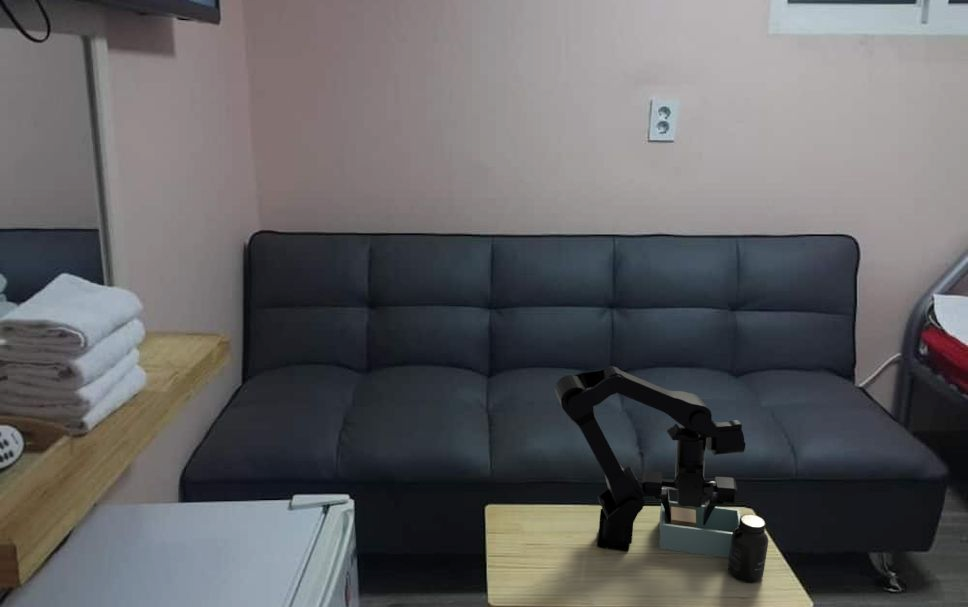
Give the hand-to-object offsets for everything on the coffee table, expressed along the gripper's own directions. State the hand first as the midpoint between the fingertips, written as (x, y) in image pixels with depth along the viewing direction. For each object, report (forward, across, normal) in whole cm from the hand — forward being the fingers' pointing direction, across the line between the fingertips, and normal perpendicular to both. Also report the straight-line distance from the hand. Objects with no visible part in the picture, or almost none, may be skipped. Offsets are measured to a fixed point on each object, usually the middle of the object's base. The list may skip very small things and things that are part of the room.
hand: (686, 522), depth 171 cm
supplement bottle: (+5, +11, -9) cm, 15 cm away
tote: (+4, +3, 0) cm, 5 cm away
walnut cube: (+3, -1, 0) cm, 3 cm away
